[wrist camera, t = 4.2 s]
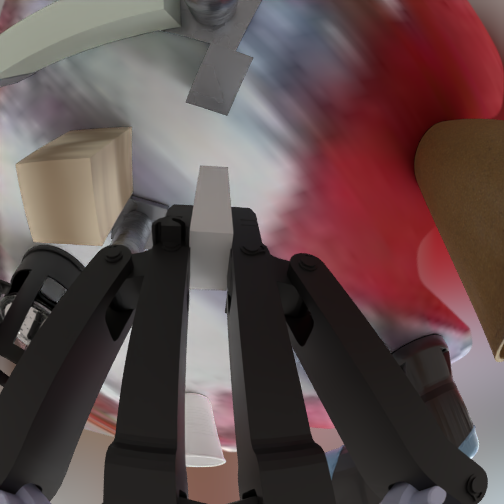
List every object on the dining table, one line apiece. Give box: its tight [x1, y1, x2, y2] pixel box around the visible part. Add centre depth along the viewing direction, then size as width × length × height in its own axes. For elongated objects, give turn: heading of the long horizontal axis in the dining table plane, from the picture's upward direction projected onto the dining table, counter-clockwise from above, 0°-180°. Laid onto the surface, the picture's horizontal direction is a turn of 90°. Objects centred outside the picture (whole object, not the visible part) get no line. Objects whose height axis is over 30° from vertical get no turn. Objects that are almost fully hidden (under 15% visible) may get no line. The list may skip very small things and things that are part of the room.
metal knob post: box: [161, 0, 262, 116], centre depth 10 cm, size 8×6×9 cm
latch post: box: [110, 195, 169, 254], centre depth 18 cm, size 4×4×8 cm
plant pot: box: [414, 119, 504, 362], centre depth 13 cm, size 15×15×16 cm
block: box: [16, 127, 133, 246], centre depth 15 cm, size 5×5×7 cm
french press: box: [0, 245, 85, 387], centre depth 14 cm, size 12×9×23 cm
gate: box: [0, 0, 181, 87], centre depth 9 cm, size 13×3×6 cm, turn 92°
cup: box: [185, 393, 226, 467], centre depth 36 cm, size 10×10×11 cm
